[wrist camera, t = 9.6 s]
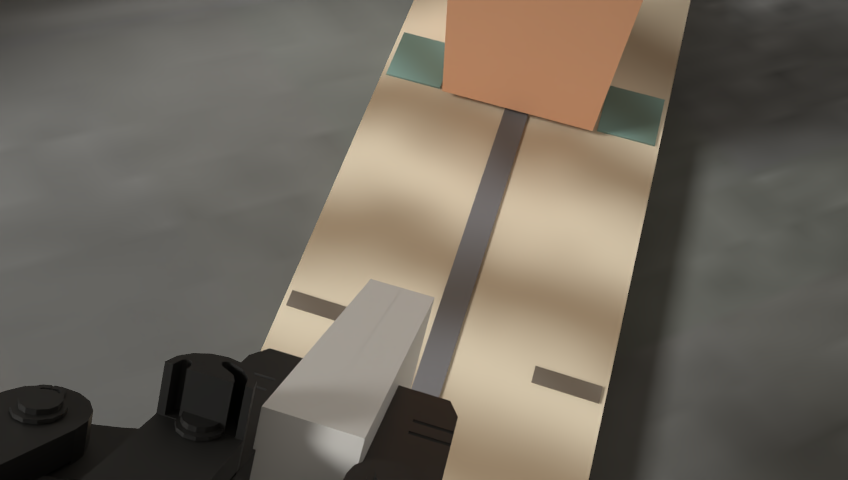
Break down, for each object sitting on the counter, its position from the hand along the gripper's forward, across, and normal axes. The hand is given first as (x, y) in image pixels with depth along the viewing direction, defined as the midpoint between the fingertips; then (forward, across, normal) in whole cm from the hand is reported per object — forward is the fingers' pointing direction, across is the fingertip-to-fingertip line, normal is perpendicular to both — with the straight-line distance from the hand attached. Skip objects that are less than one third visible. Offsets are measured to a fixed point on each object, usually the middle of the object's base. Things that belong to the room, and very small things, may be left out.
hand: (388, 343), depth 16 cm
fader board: (+16, +1, +2) cm, 16 cm away
